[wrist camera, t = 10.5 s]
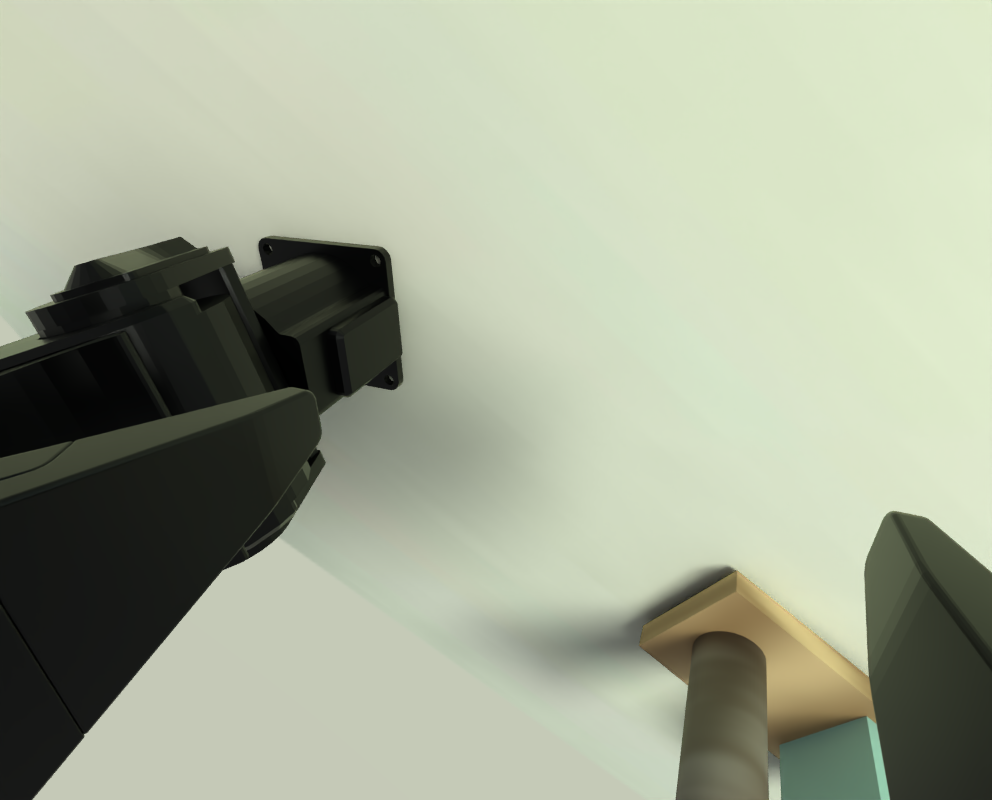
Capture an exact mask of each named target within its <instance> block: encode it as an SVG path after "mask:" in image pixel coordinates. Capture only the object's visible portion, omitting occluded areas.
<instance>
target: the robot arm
mask: <svg viewBox="0 0 992 800" xmlns="http://www.w3.org/2000/svg"><path fill="white" fill-rule="evenodd" d="M269 245H270V246H271V247H272V251H271V250H270V247H269ZM259 252H260V257H261V261H262V266H263V270H261V271H259V272H256V273H254V274H252V275H249V276H247V277H244V278H242V279H239V277H238V275H237V273H236V270H235V268H234V266H233V264H232V263H233V262H235V261H234V259H233V257H232V254H231V252H230V250H229V248H228V247H225V248H221V249H218V250H214V251H211V252H209V249H208V247H207V246H206V247H202V248H198V249H197V248H196V247H194V246H193V245H191V244H190V243H188V242H187V241H186V240H184V239H183V238H181V237H178V238H174V239H171V240H167V241H164V242H160V243H157V244H153V245H150V246H146V247H143V248H139V249H135V250H131V251H127V252H124V253H120V254H116V255H112V256H108V257H104V258H100V259H96V260H93V261H89V262H86V263H82V264H79V265H76V266H74V268H73V270H72V273H71V275H70V277H69V280H68V282H67V284H66V286H65V289H64V291H61V292H58V293H55V294H52V295H50V296H51V298H52V299H53V301H52V302H49V303H47V304H44V305H42V306H39V307H37V308H34V309H31V310H29V311H27V312H25V313H26V314H27V316H28V318H29V319H30V321H31V322H32V324H33V326H34V327H35V329H36V331H37V332H38V334H35V335H32V336H30V337H27V338H24V339H21V340H18V341H15V342H12V343H10V344H6V345H3V346H1V347H0V800H32V799H33V798H34V797H35V796H36V795H37V794H38V792H39V791H40V790H41V789H42V787H43V786H44V785H45V784H46V783H47V781H48V780H49V779H50V778H51V777H52V775H53V774H54V773H55V772H56V771H57V769H58V768H59V767H60V766H61V765H62V763H63V762H64V761H65V760H66V758H67V757H68V756H69V755H70V754H71V753H72V751H73V750H74V749H75V748H76V747H77V745H78V744H79V743H80V742H81V741H82V739H83V738H84V734H86V733H87V732H88V731H89V730H90V729H91V728H92V726H93V725H94V724H95V723H96V722H97V721H98V719H99V718H100V717H101V716H102V714H103V713H104V712H105V711H106V710H107V709H108V707H109V706H110V705H111V704H112V703H113V701H114V700H115V699H116V698H117V697H118V695H119V694H120V693H121V692H122V690H123V689H124V688H125V687H126V686H127V685H128V683H129V682H130V681H131V680H132V678H133V677H134V676H135V675H136V674H137V673H138V671H139V670H140V669H141V668H142V666H143V665H144V664H145V663H146V662H147V661H148V659H149V658H150V657H151V656H152V655H153V653H154V652H155V651H156V650H157V649H158V647H159V646H160V645H161V644H162V643H163V641H164V640H165V639H166V638H167V637H168V635H169V634H170V633H171V632H172V631H173V629H174V628H175V627H176V626H177V624H178V623H179V622H180V621H181V620H182V618H183V617H184V616H185V615H186V614H187V612H188V611H189V610H190V609H191V608H192V606H193V605H194V604H195V603H196V601H197V600H198V599H199V598H200V597H201V596H202V594H203V593H204V592H205V591H206V590H207V588H208V587H209V586H210V585H211V584H212V582H213V581H214V580H215V579H216V578H217V576H218V575H219V574H220V573H221V572H222V570H224V569H227V568H229V567H232V566H234V565H237V564H239V563H241V562H243V561H245V560H247V559H249V558H250V557H252V556H254V555H255V554H257V553H258V552H260V551H261V550H263V549H264V548H265V547H267V546H268V545H269V544H271V543H272V542H273V541H274V540H275V539H276V538H277V537H279V536H280V535H281V534H282V533H283V531H284V530H285V529H286V527H287V526H288V525H289V523H290V521H291V520H292V518H293V516H294V515H295V513H296V511H297V510H298V508H299V506H300V505H301V503H302V501H303V500H304V498H305V496H306V495H307V493H308V491H309V490H310V488H311V486H312V485H313V483H314V482H315V480H316V478H317V477H318V475H319V473H320V472H321V470H322V468H323V467H324V465H325V463H326V462H325V460H324V458H323V455H322V453H321V451H320V450H317V449H316V446H317V445H318V443H319V441H320V439H321V434H322V429H321V423H320V418H319V415H321V414H322V413H323V412H325V411H326V410H327V409H328V408H330V407H331V406H332V405H333V404H335V403H336V402H337V401H339V400H340V399H341V398H342V397H350V396H352V395H353V394H354V393H355V392H357V391H358V390H359V389H360V388H362V387H363V386H364V385H368V386H373V387H378V388H383V389H388V390H394V389H396V388H398V387H399V386H400V385H401V384H402V382H403V373H402V363H401V355H402V345H401V335H400V325H399V315H398V305H397V302H396V300H395V295H394V285H393V275H392V265H391V258H390V255H389V253H388V252H387V250H385V249H384V248H382V247H379V246H369V245H359V244H349V243H339V242H329V241H319V240H309V239H299V238H288V237H278V236H268V237H265V238H262V239H261V240H260V241H259ZM375 255H376V256H378V257H379V258H380V261H381V264H378V263H377V262H376V259H375ZM389 376H391V377H392V378H393V380H394V381H392V380H391V379H390V378H389ZM864 578H865V601H866V625H867V649H868V668H869V681H870V688H871V695H872V701H873V707H874V713H875V718H876V724H877V730H878V735H879V741H880V747H881V752H882V758H883V764H884V769H885V775H886V780H887V786H888V792H889V797H890V800H992V572H990V571H989V570H988V569H987V568H986V567H985V566H983V565H982V564H981V563H980V562H979V561H978V560H976V559H975V558H974V557H973V556H972V555H970V554H969V553H968V552H967V551H966V550H965V549H963V548H962V547H961V546H960V545H959V544H958V543H956V542H955V541H954V540H953V539H952V538H950V537H949V536H948V535H947V534H946V533H945V532H943V531H942V530H941V529H940V528H939V527H938V526H936V525H935V524H934V523H933V522H932V521H930V520H929V519H927V518H925V517H922V516H917V515H912V514H907V513H902V512H897V511H891V512H889V513H887V514H886V516H885V517H884V518H883V520H882V523H881V525H880V527H879V530H878V532H877V535H876V537H875V539H874V542H873V544H872V546H871V549H870V551H869V553H868V556H867V559H866V563H865V571H864Z"/></svg>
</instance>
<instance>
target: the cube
mask: <svg viewBox="0 0 992 800" xmlns="http://www.w3.org/2000/svg"><path fill="white" fill-rule="evenodd" d="M779 748H780V777H781V800H890V797H889V792H888V786H887V780H886V775H885V769H884V764H883V758H882V752H881V747H880V741H879V735H878V730H877V724H876V723H875V722H873V721H872V720H871V719H870V718H868V717H867V716H865V717H862V718H859V719H856V720H853V721H850V722H847V723H844V724H841V725H838V726H835V727H832V728H829V729H826V730H823V731H820V732H817V733H814V734H811V735H808V736H805V737H802V738H799V739H796V740H793V741H790V742H787V743H784V744H781V745H779Z"/></svg>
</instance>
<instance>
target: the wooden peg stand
mask: <svg viewBox="0 0 992 800" xmlns="http://www.w3.org/2000/svg"><path fill="white" fill-rule="evenodd" d="M639 646H640V647H641V648H642V649H644V650H645V651H646V652H647V653H649V654H650V655H651V656H652V657H654V658H655V659H656V660H657V661H659V662H660V663H661V664H662V665H663V666H665V667H666V668H667V669H668V670H670V671H671V672H672V673H673V674H675V675H676V676H677V677H678V678H680V679H681V680H682V681H683V682H684V683H686V684H687V685H688V692H687V701H686V710H685V719H684V728H683V737H682V747H681V756H680V765H679V774H678V783H677V792H676V800H769V787H768V750H769V751H770V752H771V753H772V754H774V755H775V756H776V757H777V758H778V759H780V748H779V745H781V744H784V743H787V742H790V741H793V740H796V739H799V738H802V737H805V736H808V735H811V734H814V733H817V732H820V731H823V730H826V729H829V728H832V727H835V726H838V725H841V724H844V723H847V722H850V721H853V720H856V719H859V718H862V717H865V716H867V717H868V718H870V719H871V720H872V721H873V722H875V723H876V718H875V713H874V707H873V701H872V695H871V688H870V681H869V677H868V676H867V675H865V674H864V673H863V672H862V671H861V670H859V669H858V668H857V667H856V666H854V665H853V664H852V663H851V662H849V661H848V660H847V659H846V658H844V657H843V656H842V655H841V654H840V653H838V652H837V651H836V650H835V649H833V648H832V647H831V646H830V645H828V644H827V643H826V642H825V641H824V640H822V639H821V638H820V637H819V636H817V635H816V634H815V633H814V632H812V631H811V630H810V629H809V628H808V627H806V626H805V625H804V624H803V623H801V622H800V621H799V620H798V619H796V618H795V617H794V616H793V615H791V614H790V613H789V612H788V611H787V610H785V609H784V608H783V607H782V606H780V605H779V604H778V603H777V602H775V601H774V600H773V599H772V598H771V597H769V596H768V595H767V594H766V593H764V592H763V591H762V590H761V589H759V588H758V587H757V586H756V585H754V584H753V583H752V582H751V581H750V580H748V579H747V578H746V577H745V576H743V575H742V574H741V573H740V572H738V571H735V572H734V573H732V574H730V575H729V576H727V577H725V578H724V579H722V580H720V581H718V582H717V583H715V584H713V585H712V586H710V587H708V588H707V589H705V590H703V591H701V592H700V593H698V594H696V595H695V596H693V597H691V598H690V599H688V600H686V601H684V602H683V603H681V604H679V605H678V606H676V607H674V608H673V609H671V610H669V611H667V612H666V613H664V614H662V615H661V616H659V617H657V618H656V619H654V620H652V621H650V622H649V623H647V624H645V625H644V626H643V629H642V634H641V639H640V644H639Z"/></svg>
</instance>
